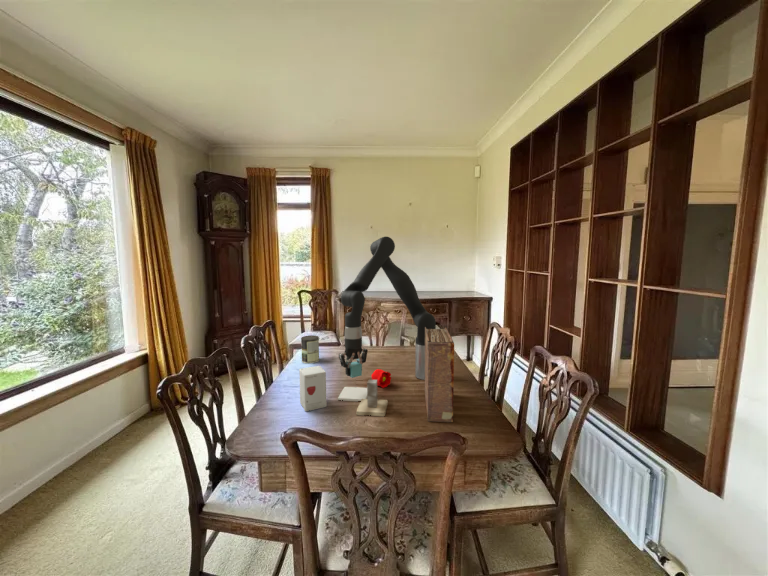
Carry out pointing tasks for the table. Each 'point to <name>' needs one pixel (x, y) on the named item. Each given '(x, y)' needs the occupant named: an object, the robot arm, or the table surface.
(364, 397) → the pad
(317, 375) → the supplement box
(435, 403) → the book
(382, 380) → the flower
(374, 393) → the post stand
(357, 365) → the teal cube block
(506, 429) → the table surface
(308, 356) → the coffee can
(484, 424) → the table surface
